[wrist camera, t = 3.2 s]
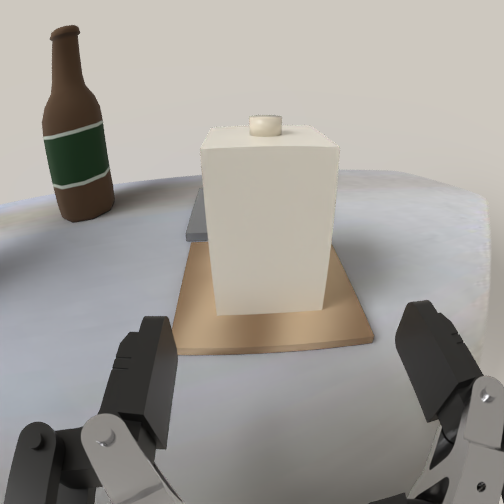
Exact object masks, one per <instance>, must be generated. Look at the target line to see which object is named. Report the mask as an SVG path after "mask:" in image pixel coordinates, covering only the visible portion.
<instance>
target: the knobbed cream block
mask: <svg viewBox="0 0 504 504" xmlns="http://www.w3.org/2000/svg"><path fill="white" fill-rule="evenodd" d="M339 154H340V147H339V146H337V144H335V143H334V142H332V141H331V140H330V139H328V138H327V137H326V136H324V135H323V134H322V133H320V132H319V131H317V130H316V129H315V128H313V127H312V126H305V125H282V117H281V116H276V115H256V116H250V117H249V126H229V127H212V128H211V129H210V131H209V133H208V135H207V137H206V139H205V141H204V143H203V144H202V146H201V148H200V156H201V168H202V181H203V192H204V203H205V214H206V224H207V234H208V243H209V253H210V262H211V271H212V279H213V288H214V296H215V304H216V312H217V316H220V315H248V314H269V313H287V312H303V311H317V310H322V307H323V300H324V294H325V287H326V280H327V273H328V265H329V258H330V250H331V241H332V233H333V223H334V214H335V204H336V193H337V181H338V169H339Z"/></svg>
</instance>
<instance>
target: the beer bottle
mask: <svg viewBox="0 0 504 504" xmlns="http://www.w3.org/2000/svg"><path fill="white" fill-rule="evenodd" d="M79 34H80V31H79V28H78V27H77V26H75V25H71V26H70V25H69V26H64V27H60V28H58V29H56V30H55V31H54V32H52V33H51V37H50V40H51V41H53V44H52V90H51V95H50V98H49V100H48V102H47V104H46V106H45V109H44V115H43V120H42V128H43V138H44V143H45V149H46V155H47V159H48V165H49V169H50V173H51V178H52V183H53V187H54V191H55V195H56V199H57V203H58V206H59V209H60V212H61V215H62V217H63V218H64V219H66V220H68V221H71V222H78V221H84V220H90V219H94V218H95V217H97V216H99V215H101V214H103V213H105V212H107V211H109V210H110V209H111V207H112V205H113V203H114V199H115V197H114V190H113V183H112V178H111V173H110V167H109V161H108V155H107V148H106V142H105V135H104V128H103V120H102V115H101V110H100V105H99V104H98V102H97V100H96V98H95V96H94V94H93V93H92V92H91V91H90V90H89V89H88V88H87V87H86V85H85V82H84V79H83V76H82V69H81V62H80V54H79V44H78V35H79Z"/></svg>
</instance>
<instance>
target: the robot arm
mask: <svg viewBox="0 0 504 504" xmlns="http://www.w3.org/2000/svg"><path fill="white" fill-rule="evenodd" d="M395 344H396V349H397V351H398V353H399V356H400V358H401V360H402V362H403V365H404V367H405V369H406V371H407V374H408V376H409V378H410V381H411V383H412V386H413V388H414V390H415V393H416V395H417V398H418V400H419V403H420V405H421V408H422V410H423V413H424V415H425V418H426V420H427V423H428V422H431V421H435V420H438V419H439V421H440V425H439V427H438V429H437V432H436V435H435V438H434V441H433V444H432V447H431V450H430V453H429V456H428V459H427V462H426V465H425V467H424V470H423V472H422V474H421V476H420V477H419V479H418V480H417V481H416V483H415V484H414V486H413V487H412V489H411V491H410V493H409V495H408V497H407V498H406V495H405V493H402V494H399V495H396V496H392V497H389V498H385V499H382V500H378V501H374V502H371V503H369V504H499V499H500V496H501V495H502V499H503V503H504V387H503V385H502V384H501V383H500V382H499V381H498V380H497V379H495V378H493V377H491V376H484V375H483V374H482V372H481V370H480V368H479V367H478V365H477V363H476V361H475V360H474V358H473V356H472V355H471V353H470V351H469V350H468V348H467V346H466V345H465V343H463V340H462V338H461V336H460V335H458V332H457V330H456V328H455V327H454V325H453V324H452V322H451V321H450V320H449V319H447V318H446V317H445V316H444V315H443V314H441V313H438V312H437V311H436V309H435V308H434V306H433V305H432V303H431V302H430V301H428V300H425V301H417V302H409V303H408V304H407V305H406V308H405V310H404V313H403V316H402V319H401V321H400V324H399V327H398V329H397V332H396V336H395ZM177 364H178V354H177V347H176V343H175V340H174V336H173V333H172V329H171V325H170V322H169V319H168V317H167V316H145V317H144V318H143V320H142V323H141V326H140V330H139V332H129V333H128V335H127V336H126V337H125V338H124V339H123V341H122V342H121V343H120V345H119V348H118V351H117V354H116V359H115V361H114V364H113V367H112V368H113V370H111V373H110V377H109V380H108V383H107V387H106V390H105V394H104V397H103V401H102V404H101V408H100V410H99V412H98V414H97V415H96V416H94V417H92V418H90V419H89V420H88V421H87V422H86V423H85V425H84V426H83V427H80V428H74V429H66V430H58V431H54V430H53V429H52V428H51V427H50V426H49V425H47V424H45V423H43V422H33V423H31V424H29V425H27V426H26V427H25V428H24V429H23V430H22V431H21V433H20V435H19V438H18V442H17V446H16V450H15V453H14V457H13V462H12V466H11V470H10V475H9V479H8V484H7V489H6V495H5V500H4V504H94V502H95V492H96V487H104V489H105V491H106V493H107V495H108V496H109V498H110V500H111V502H112V504H185V502H184V501H183V500H182V499H181V497H180V496H179V495H178V493H177V492H176V491H175V489H174V488H173V487H172V485H171V484H170V483H169V481H168V480H167V479H166V477H165V476H164V474H163V473H162V471H161V470H160V469H159V467H158V466H157V464H156V463H155V461H154V459H155V451H156V449H165V450H166V447H167V438H168V430H169V422H170V414H171V406H172V399H173V392H174V385H175V378H176V371H177Z"/></svg>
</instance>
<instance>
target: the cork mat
mask: <svg viewBox="0 0 504 504" xmlns="http://www.w3.org/2000/svg"><path fill="white" fill-rule="evenodd" d="M172 333H173V336H174V340H175V343H176V347H177V354H178V355H231V354H257V353H275V352H290V351H302V350H314V349H324V348H334V347H343V346H352V345H360V344H367V343H372V341H373V338H374V334H373V332H372V330H371V328H370V325H369V323H368V321H367V318H366V316H365V314H364V312H363V309H362V307H361V305H360V303H359V300H358V298H357V296H356V294H355V292H354V290H353V287H352V285H351V283H350V281H349V279H348V277H347V275H346V272H345V270H344V268H343V266H342V264H341V262H340V260H339V258H338V256H337V254H336V252H335V250H334V248H333V246H332V244H331V250H330V258H329V265H328V273H327V280H326V287H325V294H324V300H323V307H322V310H317V311H303V312H287V313H269V314H248V315H220V316H217V312H216V304H215V296H214V288H213V279H212V271H211V262H210V253H209V243H208V242H191V246H190V251H189V255H188V259H187V263H186V267H185V272H184V276H183V280H182V285H181V289H180V294H179V298H178V303H177V308H176V312H175V317H174V322H173V327H172Z"/></svg>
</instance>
